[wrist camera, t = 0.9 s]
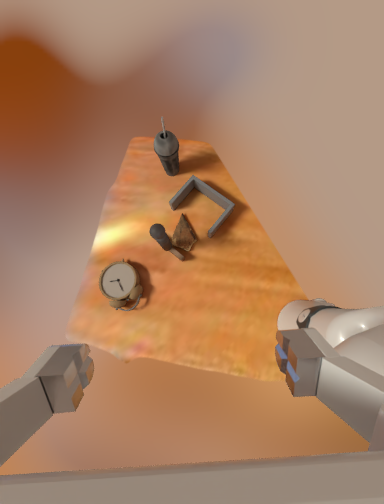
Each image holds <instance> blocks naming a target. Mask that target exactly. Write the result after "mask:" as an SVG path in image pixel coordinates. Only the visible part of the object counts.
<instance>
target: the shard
mask: <svg viewBox="0 0 384 504" xmlns="http://www.w3.org/2000/svg"><path fill="white" fill-rule="evenodd" d="M196 241H197V239H196V237H195V235H194V233H193V231H192V230H191V227H190V226H189V224H188V222H187V221H186V219H185V217H184V215H183V213H182V215H181V217H180V220H179V223H178V225H177V226H176V229H175V231H174V234H173V237H172V240H171V243H172V245H173V246H176V247H179V248H182V249H184V250H186V251H190V249H191V246H192V245H193V243H194V242H196Z"/></svg>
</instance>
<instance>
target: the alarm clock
mask: <svg viewBox="0 0 384 504" xmlns="http://www.w3.org/2000/svg"><path fill="white" fill-rule="evenodd" d="M139 284H140V277H139V273H138V272H137V270H136V269H135V268H134V267H133V266H131V265H129V264H128V263H125V262H124V259H122V261H121V262H114V263H111V264H110V265H108V266H107V267H106V268H105V269H104V270H102V273H101V275H100V278H99V287H100V290H101V292H102V294H103V295H104V296H105V297H107V298H109V299H112V300H117V301H109V304H110V306H111V307H114V308H116V310H118V309H121V307H123V306H125V304H126V301H120V300H126V299H127V301H128V300H129V299H128V298H130V299H133V300H134V299H137V298H138V301H137V303H136V305H135V306H134V307H133V308H131V309H128V310H124V309H121V310H123V311H130V310H132V309H134V308H135V307H136V306H137V305H138V303H139V300H140V297H141V296H142V292H143V287H142V286H141V285H139Z"/></svg>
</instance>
